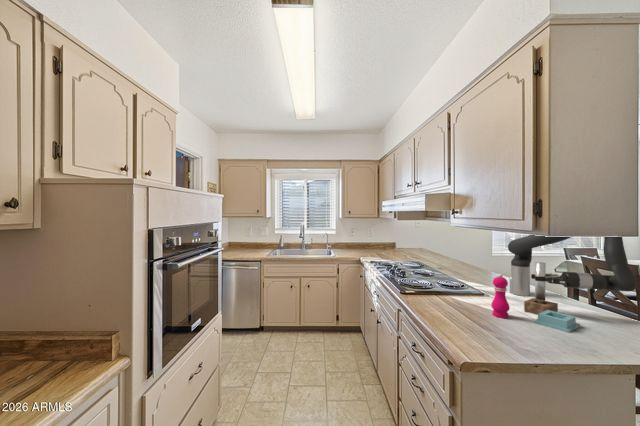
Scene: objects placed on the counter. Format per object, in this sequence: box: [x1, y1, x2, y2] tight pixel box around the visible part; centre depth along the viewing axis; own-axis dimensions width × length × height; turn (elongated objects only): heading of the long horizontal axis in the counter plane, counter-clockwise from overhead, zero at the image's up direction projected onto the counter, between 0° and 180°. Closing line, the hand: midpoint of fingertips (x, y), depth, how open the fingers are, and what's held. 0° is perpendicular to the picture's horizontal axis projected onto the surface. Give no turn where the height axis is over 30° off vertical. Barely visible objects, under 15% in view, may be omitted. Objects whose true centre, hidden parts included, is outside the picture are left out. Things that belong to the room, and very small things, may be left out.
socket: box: [533, 310, 581, 333], centre depth 120 cm, size 12×12×4 cm
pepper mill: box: [491, 273, 511, 319], centre depth 130 cm, size 7×7×20 cm
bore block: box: [523, 297, 559, 316], centre depth 135 cm, size 10×10×5 cm
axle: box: [534, 261, 547, 301], centre depth 135 cm, size 4×4×18 cm
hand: (533, 277), depth 136 cm, fingers closed on axle, 4 cm apart
